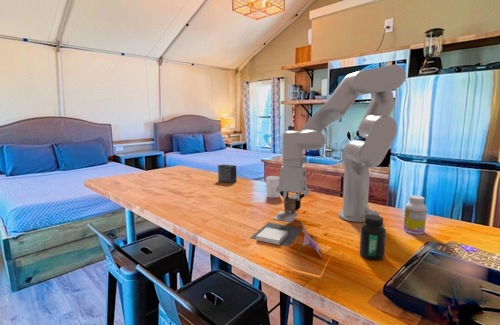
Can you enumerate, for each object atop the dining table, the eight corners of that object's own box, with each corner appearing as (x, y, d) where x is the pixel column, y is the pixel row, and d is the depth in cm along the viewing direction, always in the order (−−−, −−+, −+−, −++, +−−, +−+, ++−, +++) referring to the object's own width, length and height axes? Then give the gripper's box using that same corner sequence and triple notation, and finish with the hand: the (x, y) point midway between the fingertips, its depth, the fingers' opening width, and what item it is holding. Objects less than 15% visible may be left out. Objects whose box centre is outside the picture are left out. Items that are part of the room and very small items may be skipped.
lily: (313, 273, 77) (331, 243, 77) (278, 248, 82) (294, 219, 82) (320, 265, 88) (336, 239, 88) (289, 244, 93) (303, 218, 93)
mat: (303, 229, 104) (303, 228, 104) (288, 247, 90) (288, 246, 90) (268, 223, 111) (268, 222, 111) (249, 239, 97) (249, 238, 97)
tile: (287, 231, 98) (278, 240, 91) (287, 236, 98) (278, 245, 91) (266, 227, 101) (256, 235, 94) (266, 231, 102) (256, 240, 95)
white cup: (280, 198, 144) (280, 179, 142) (264, 197, 145) (264, 178, 143) (281, 194, 151) (281, 176, 150) (267, 193, 153) (267, 175, 151)
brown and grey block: (304, 207, 115) (304, 195, 114) (291, 222, 101) (291, 209, 100) (288, 204, 119) (287, 193, 118) (272, 219, 104) (272, 206, 103)
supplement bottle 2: (405, 226, 107) (408, 193, 104) (425, 230, 102) (429, 196, 100) (401, 232, 101) (404, 197, 99) (422, 236, 97) (426, 200, 95)
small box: (237, 181, 183) (236, 165, 181) (231, 183, 177) (230, 166, 176) (224, 179, 188) (223, 163, 187) (217, 181, 183) (217, 165, 181)
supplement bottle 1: (376, 263, 80) (378, 223, 78) (354, 254, 85) (356, 216, 83) (388, 256, 84) (391, 218, 82) (367, 248, 89) (369, 211, 87)
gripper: (316, 162, 109) (315, 208, 112) (276, 160, 116) (276, 203, 119) (311, 166, 102) (310, 214, 105) (268, 163, 110) (269, 208, 113)
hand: (292, 208), depth 112 cm, fingers closed on brown and grey block, 3 cm apart
